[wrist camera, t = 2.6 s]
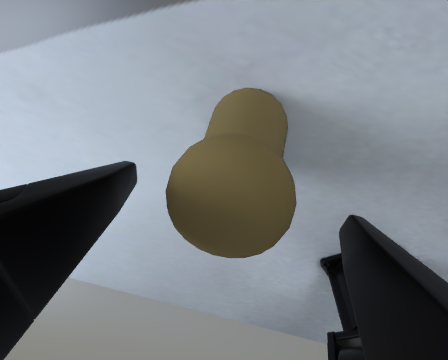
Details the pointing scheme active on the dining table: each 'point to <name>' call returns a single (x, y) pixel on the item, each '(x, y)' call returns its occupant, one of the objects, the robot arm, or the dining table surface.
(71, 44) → the dining table surface
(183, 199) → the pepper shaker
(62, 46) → the dining table surface
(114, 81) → the dining table surface
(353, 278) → the robot arm
